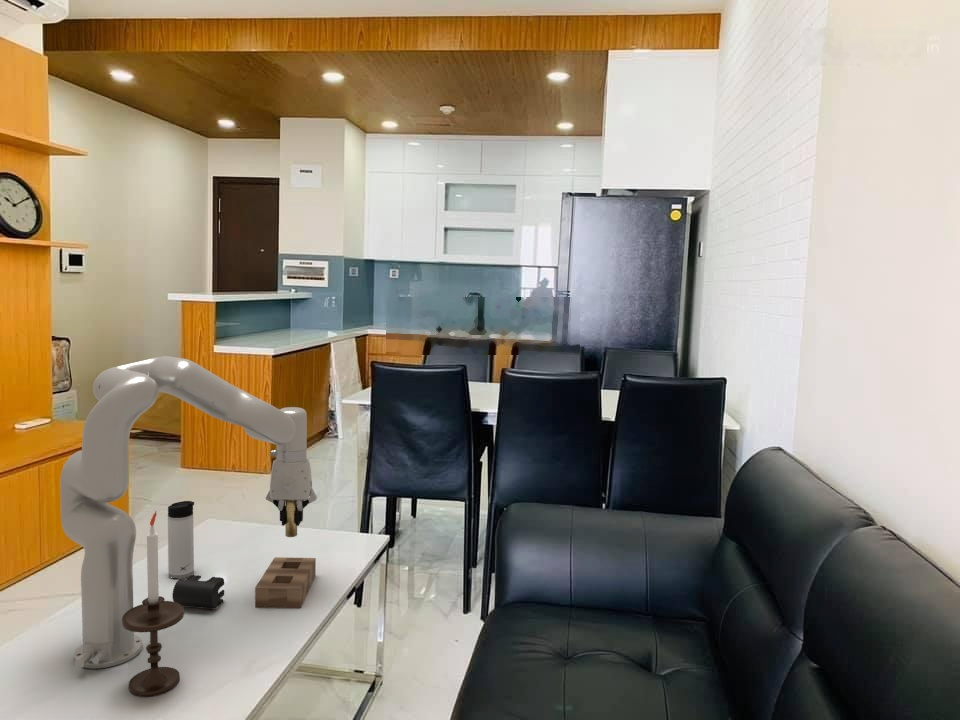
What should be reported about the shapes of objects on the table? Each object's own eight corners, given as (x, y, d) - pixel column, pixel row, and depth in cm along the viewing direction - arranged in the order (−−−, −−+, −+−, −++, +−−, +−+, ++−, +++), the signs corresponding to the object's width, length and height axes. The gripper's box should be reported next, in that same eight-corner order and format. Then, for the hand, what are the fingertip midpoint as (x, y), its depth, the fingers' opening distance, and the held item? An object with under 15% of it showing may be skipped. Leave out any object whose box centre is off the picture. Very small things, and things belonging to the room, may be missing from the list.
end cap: (172, 611, 165) (171, 584, 165) (188, 598, 172) (187, 572, 172) (211, 615, 164) (211, 587, 164) (226, 601, 171) (225, 575, 171)
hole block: (300, 608, 169) (300, 588, 168) (255, 607, 168) (255, 587, 168) (315, 575, 188) (315, 557, 187) (274, 575, 187) (274, 557, 187)
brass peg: (295, 537, 180) (296, 496, 179) (284, 537, 180) (284, 496, 179) (298, 533, 183) (298, 492, 182) (286, 532, 183) (287, 492, 182)
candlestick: (193, 668, 141) (191, 502, 138) (171, 700, 130) (168, 520, 127) (139, 667, 141) (136, 501, 137) (112, 699, 130) (108, 519, 126)
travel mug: (188, 579, 182) (188, 506, 180) (164, 578, 183) (163, 505, 180) (199, 570, 189) (198, 499, 187) (175, 569, 189) (174, 498, 187)
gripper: (255, 458, 175) (255, 528, 177) (320, 459, 176) (320, 529, 178) (263, 451, 182) (263, 518, 184) (325, 452, 183) (325, 519, 185)
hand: (291, 523), depth 181 cm, fingers closed on brass peg, 3 cm apart
